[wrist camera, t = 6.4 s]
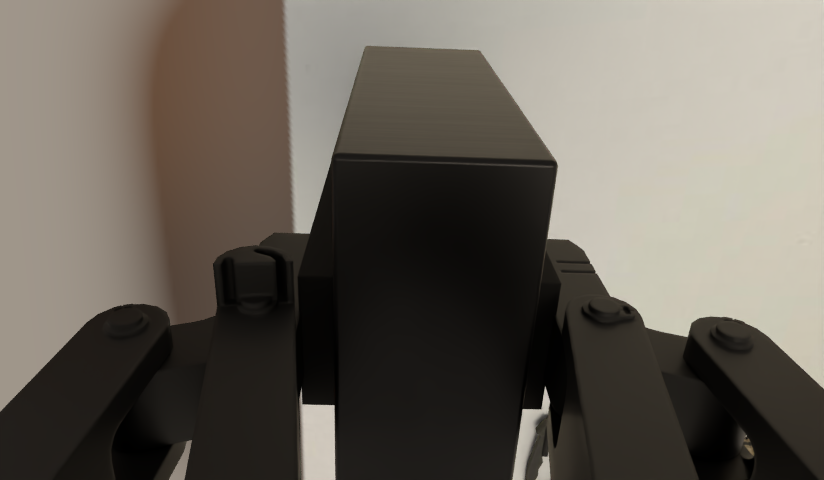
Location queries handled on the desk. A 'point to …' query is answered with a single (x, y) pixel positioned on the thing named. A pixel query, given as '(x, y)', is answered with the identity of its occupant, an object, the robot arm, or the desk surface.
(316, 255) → the robot arm
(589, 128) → the desk surface
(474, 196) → the black and grey bar
